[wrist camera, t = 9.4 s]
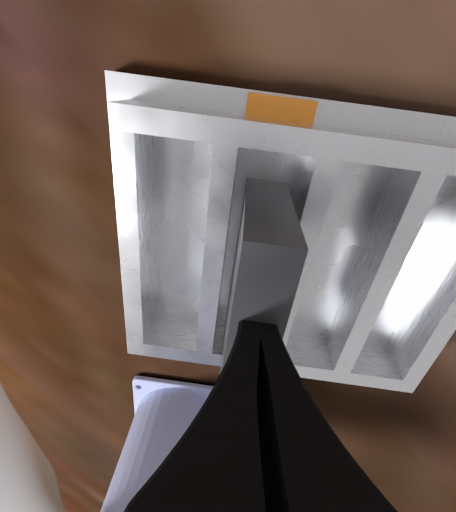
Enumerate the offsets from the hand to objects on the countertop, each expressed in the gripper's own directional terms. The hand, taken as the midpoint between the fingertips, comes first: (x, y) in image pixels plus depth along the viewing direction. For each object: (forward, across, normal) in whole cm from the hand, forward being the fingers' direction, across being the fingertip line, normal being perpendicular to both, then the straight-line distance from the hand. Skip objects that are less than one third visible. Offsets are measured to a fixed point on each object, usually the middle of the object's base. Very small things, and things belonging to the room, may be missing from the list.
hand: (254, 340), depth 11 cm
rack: (+8, -2, 0) cm, 8 cm away
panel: (+7, 0, 0) cm, 7 cm away
